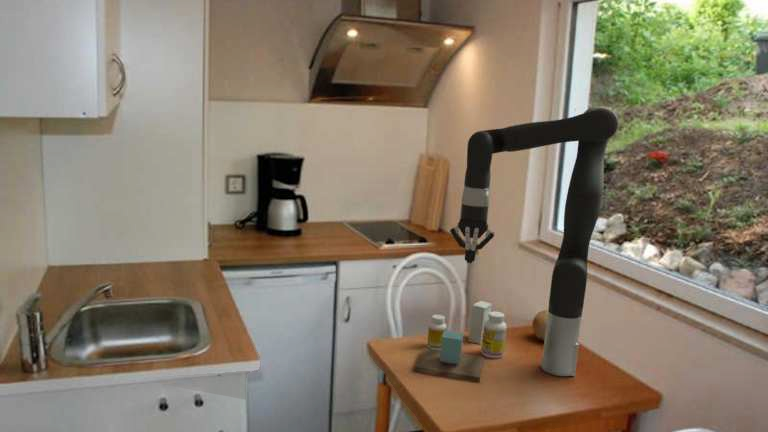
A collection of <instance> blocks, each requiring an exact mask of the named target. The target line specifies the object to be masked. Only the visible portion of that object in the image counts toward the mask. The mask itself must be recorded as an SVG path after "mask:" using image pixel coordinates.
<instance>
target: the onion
mask: <svg viewBox="0 0 768 432" xmlns="http://www.w3.org/2000/svg"><path fill="white" fill-rule="evenodd" d="M547 317H548V309H544V310H541V311H539V312H538V313H537V314H535V316H534V318H533V319H532V327H531V328H532V331H533V333H534V335H535V337H537V339H539V340H541V341H543V342H544V341H545V333H546V325H547Z"/></svg>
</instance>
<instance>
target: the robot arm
mask: <svg viewBox="0 0 768 432" xmlns="http://www.w3.org/2000/svg"><path fill="white" fill-rule="evenodd" d="M619 124H620V121H619V118H618V115H617V114H616V112H614V111H613V110H612V109H610V108H608V107H606V106H602V105H600V106H599V105H597V106H592V107H590V108H588V109H586V110H585V111H584V112H582V113H581V114H580V113H579V114H577V115H574V116H570V117H567V118H566V117H565V118H562V119H553V120H547V121H546V120H545V121H544V120H543V121H535V122H526V123H521V124H515V125H510V126H506V127H502V128H496V129H495V128H493V129H486V130H479V131H476V132H474V133H473V134H472V135H471V136H470V137H469V139H468V141H467V151H466V169H465V173H464V174H465V175H464V187H463V190H462V194H461V206H460V218H459V221H458V222H457V225H455V226H454V227H451V229H450V231H449V232H450V233H451V235H452V237H453V239H455V241H456V243H457V244H458V246H459V247H460V248H463V249H464V251H465V252H464V261H466V264H467V263H468V264H473V262H474V261H475V259H476V251H478V250H482V249H483V248H484V247H485V246H486V245H487V244H488V243H489V242H490V241H491V240H492V239H493V238H494V237H495V232H494V231H492V230H490V229H489V225H488V214H489V213H488V212H489V203H490V187H491V167H492V165H491V164H492V160H493V154H498V153H499V154H500V153H504V152H507V153H510V152H520V151H524V150H531V149H536V148H541V147H546V146H551V145H558V144H562V143H571V142H577V153H576V158H575V161H574V165H573V168H572V172H571V176H570V180H569V184H568V189H567V193H566V199H565V204H564V213H563V214H564V216H563V236H562V240H561V241H562V242H561V245H560V249H559V252H558V256H557V259H556V261H555V264H554V266H553V271H552V275H551V282H550V289H549V291H550V292H549V299H548V309H547V310H548V317H547V325H546V333H545V341H543V342H544V343H543V350H542V351H543V352H542V357H541V369H542V370H543V371H544V372H546V373H547V374H549V375H553V376H558V377H575V375H576V368H577V361H578V360H577V359H578V354H579V347H580V345H579V338H580V331H581V325H582V318H583V311H584V305H585V303H584V302H585V296H586V289H587V281H588V259H589V257H588V256H589V248H590V241H591V238H592V235H593V232H594V230H595V227H596V225H597V221H598V219H599V214H600V211H601V206H602V200H603V196H604V180H605V179H604V178H605V177H604V176H605V175H604V174H605V173H604V171H605V170H604V166H605V165H604V163H605V161H604V160H605V155H606V152H607V147H608V143H609V140H610V139H612V138H613V137H614V136H615V134H616V133H617V132H618V131H619V130H618V129H619ZM459 233H461V234H462V236H463V237H465V239H464V240H463V239H462V237H461V235H460V234H459ZM483 235H484V236H485V238H483V240H482V241H480V242H479V243H478V240H479V239H480V238H482V236H483ZM471 239H472V241H471ZM464 241H465V242H464Z"/></svg>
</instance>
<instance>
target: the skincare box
mask: <svg viewBox="0 0 768 432" xmlns="http://www.w3.org/2000/svg"><path fill="white" fill-rule="evenodd" d="M492 305H493V304H492V303H491V302H490V303H489V302H486V301H484V300H483V301H482V300H480V301H478V302H475V303H474V304H473V305H472V308H471V316H470V326H469V334H468V341H469V342H470V343H475V344H479V345H482V340H483V331H484V323H485V322H486V321H487V320H489V317H488V315H489V312H492Z"/></svg>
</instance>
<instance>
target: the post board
mask: <svg viewBox="0 0 768 432" xmlns="http://www.w3.org/2000/svg"><path fill="white" fill-rule="evenodd" d="M440 354H441V350H433V349H430V348H425V347H422V349H421V351H420V354H419V356H418V358H417V361H416V363H415V365H414V370H413V372H415V373H418V374H419V373H420V374H425V375H431V376H439V377H443V378H449V379H457V380H461V381H462V380H463V381H468V382H474V383H480V382H481V376H482V373H483V366H484V363H485V356H484V357H483V356H476V355H471V354H463V353H462V354H461V359H460V363H459V364H456V363H455V365H453V364H447V363H445V362H443V361H440Z"/></svg>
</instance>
